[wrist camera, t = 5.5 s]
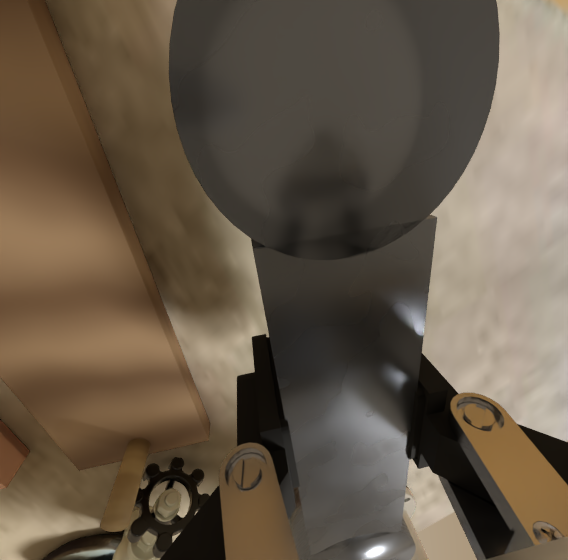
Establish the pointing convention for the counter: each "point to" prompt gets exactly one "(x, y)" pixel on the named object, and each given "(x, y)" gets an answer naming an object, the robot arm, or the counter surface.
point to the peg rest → (79, 278)
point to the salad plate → (88, 548)
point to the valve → (159, 513)
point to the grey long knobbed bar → (338, 216)
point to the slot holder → (10, 455)
